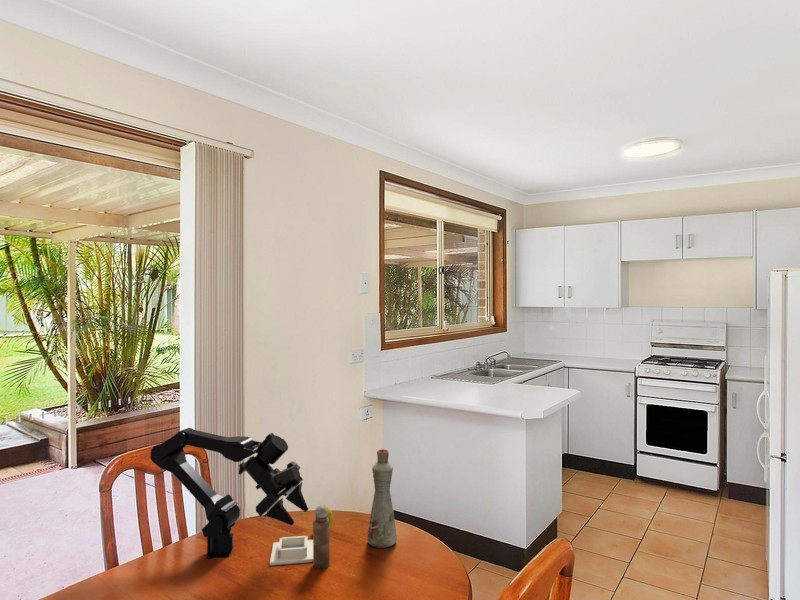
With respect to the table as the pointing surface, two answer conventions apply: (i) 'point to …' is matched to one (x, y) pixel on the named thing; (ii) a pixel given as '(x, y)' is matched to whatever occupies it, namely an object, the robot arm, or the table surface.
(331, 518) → the lemon
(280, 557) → the mill stand
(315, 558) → the pepper mill
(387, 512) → the bottle
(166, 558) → the table surface
